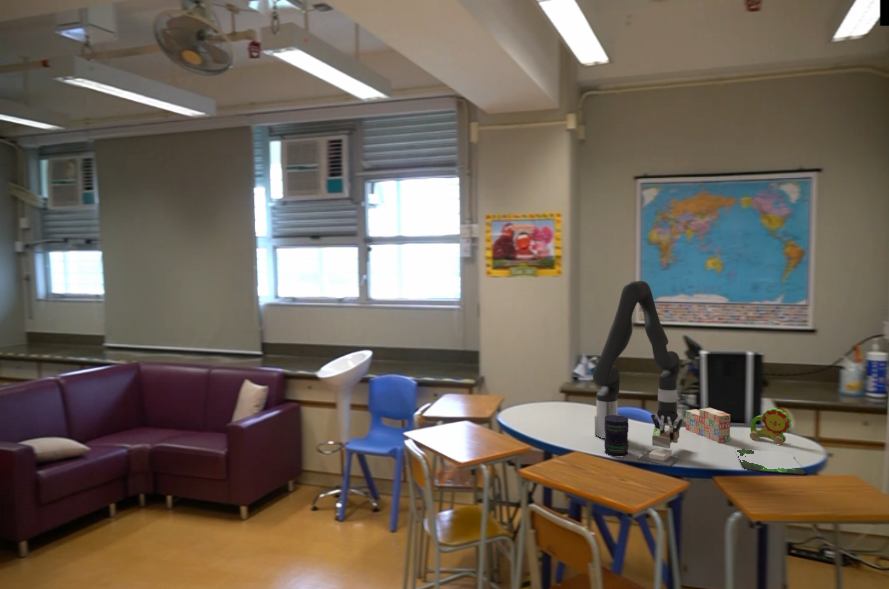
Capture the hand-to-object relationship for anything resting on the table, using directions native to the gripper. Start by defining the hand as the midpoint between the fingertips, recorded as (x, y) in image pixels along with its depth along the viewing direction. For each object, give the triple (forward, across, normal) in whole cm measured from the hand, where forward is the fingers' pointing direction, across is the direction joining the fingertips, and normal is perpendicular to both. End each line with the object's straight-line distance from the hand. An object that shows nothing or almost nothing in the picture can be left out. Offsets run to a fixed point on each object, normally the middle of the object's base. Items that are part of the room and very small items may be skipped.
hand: (667, 439), depth 255 cm
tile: (+4, 0, -3) cm, 5 cm away
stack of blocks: (+6, +5, +34) cm, 35 cm away
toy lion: (+6, +30, +41) cm, 51 cm away
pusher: (+1, 0, +2) cm, 2 cm away
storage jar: (+6, -17, -12) cm, 22 cm away
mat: (+6, 0, -10) cm, 11 cm away
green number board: (+7, -10, +24) cm, 27 cm away
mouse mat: (+6, +35, +15) cm, 39 cm away
